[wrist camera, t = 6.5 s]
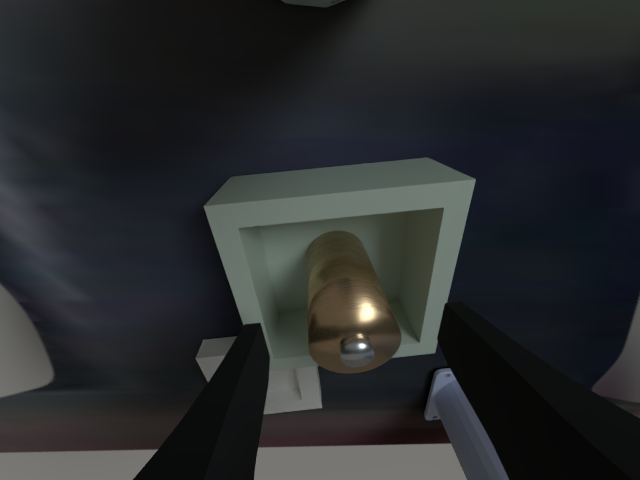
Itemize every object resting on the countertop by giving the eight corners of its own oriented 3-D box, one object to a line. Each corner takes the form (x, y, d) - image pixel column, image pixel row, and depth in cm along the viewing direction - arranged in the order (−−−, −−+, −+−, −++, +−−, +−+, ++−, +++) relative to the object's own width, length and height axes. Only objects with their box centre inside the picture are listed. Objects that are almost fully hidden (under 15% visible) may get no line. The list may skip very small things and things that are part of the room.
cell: (367, 228, 14) (413, 318, 8) (363, 278, 15) (399, 381, 10) (304, 231, 14) (306, 325, 8) (307, 282, 15) (310, 389, 10)
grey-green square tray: (427, 157, 13) (475, 179, 9) (408, 302, 18) (435, 352, 14) (231, 176, 12) (203, 206, 9) (267, 317, 17) (259, 372, 14)
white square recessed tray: (312, 328, 18) (313, 349, 17) (320, 389, 22) (322, 411, 21) (203, 339, 18) (193, 362, 16) (231, 399, 22) (225, 422, 20)
